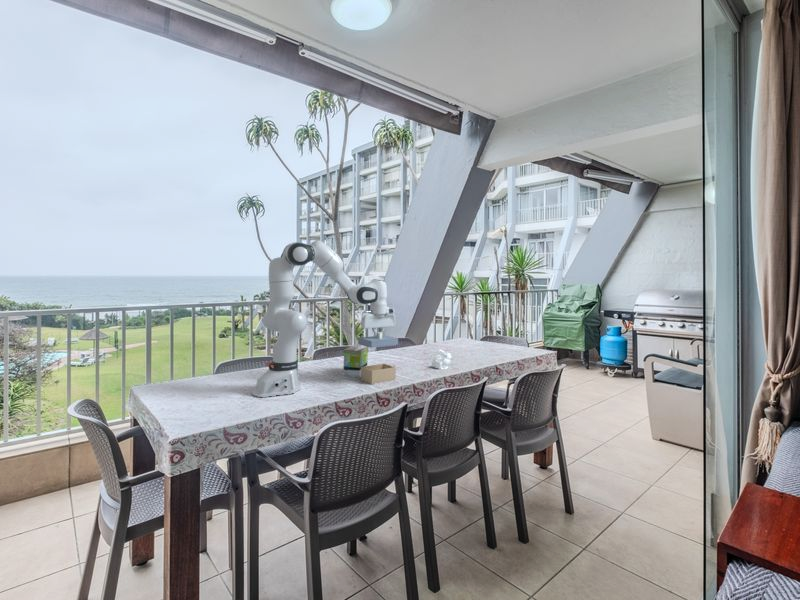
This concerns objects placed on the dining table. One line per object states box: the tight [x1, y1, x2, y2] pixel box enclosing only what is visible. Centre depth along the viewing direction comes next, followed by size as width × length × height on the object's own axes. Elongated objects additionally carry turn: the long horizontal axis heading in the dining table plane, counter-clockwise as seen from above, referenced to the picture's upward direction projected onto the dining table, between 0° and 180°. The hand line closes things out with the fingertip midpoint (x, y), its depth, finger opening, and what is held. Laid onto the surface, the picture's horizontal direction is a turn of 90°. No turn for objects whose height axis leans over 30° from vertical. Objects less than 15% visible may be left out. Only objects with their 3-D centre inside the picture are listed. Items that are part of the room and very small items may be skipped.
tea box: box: [342, 345, 369, 377], centre depth 225 cm, size 15×10×15 cm, turn 168°
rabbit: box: [431, 349, 452, 370], centre depth 239 cm, size 12×9×12 cm
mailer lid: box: [357, 331, 399, 349], centre depth 210 cm, size 17×13×6 cm
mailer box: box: [360, 363, 397, 385], centre depth 211 cm, size 15×11×7 cm
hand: (378, 336), depth 210 cm, fingers closed on mailer lid
